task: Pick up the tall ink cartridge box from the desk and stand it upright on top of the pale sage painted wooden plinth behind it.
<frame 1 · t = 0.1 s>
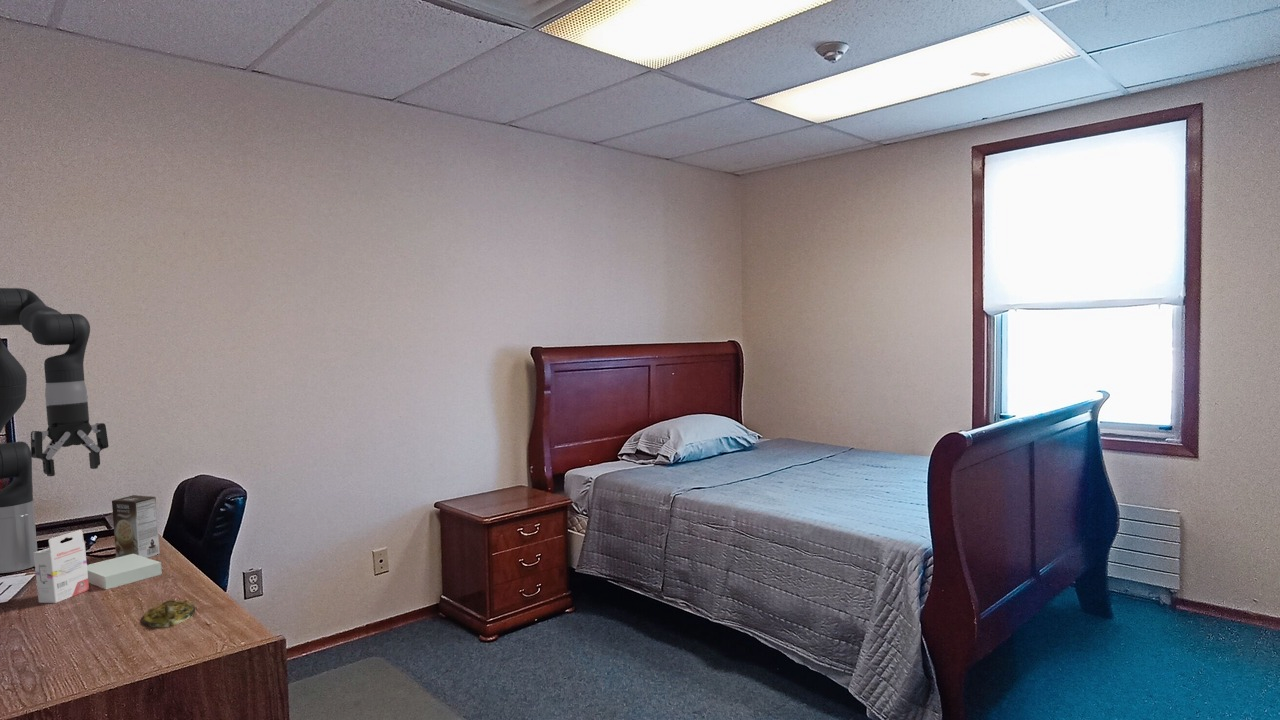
hand: (72, 472, 169), 29 cm above the table, fingers open, 8 cm apart
coffee box: (138, 557, 202), on the table
olive green oval lump: (170, 618, 156), on the table
ink cartridge box: (64, 597, 172), on the table
plinth: (120, 576, 184), on the table
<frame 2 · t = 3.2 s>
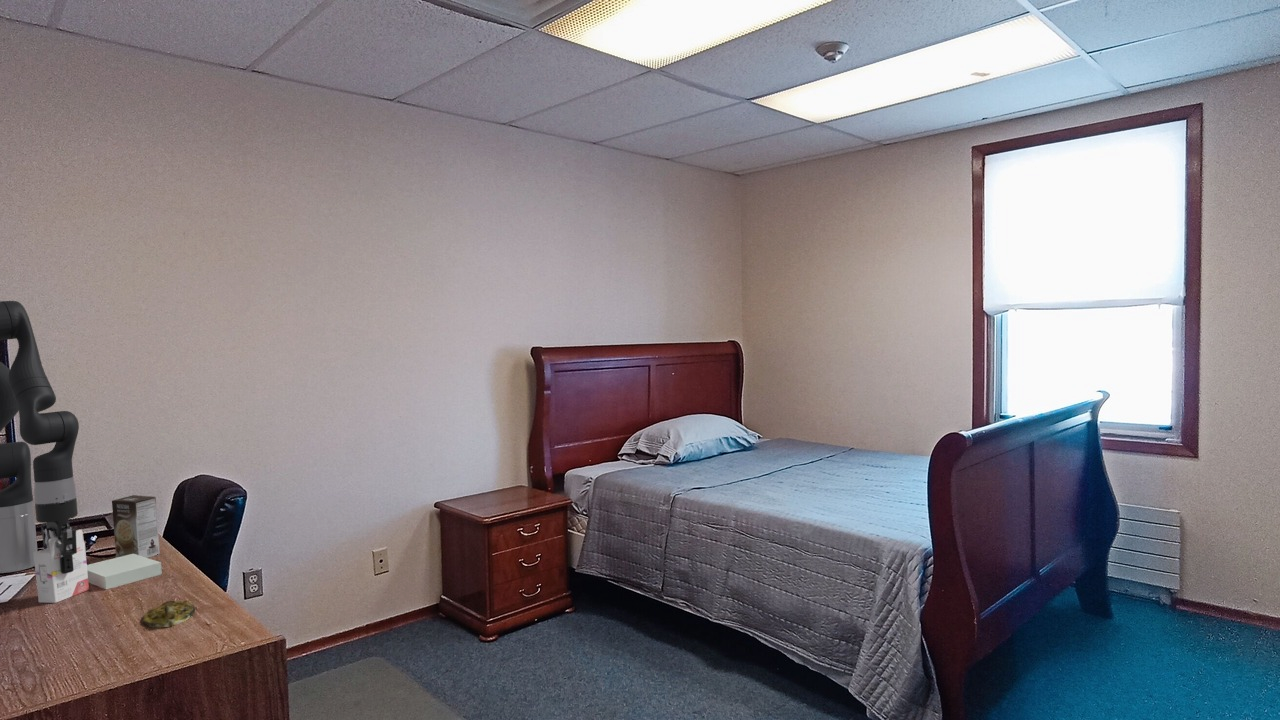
hand: (61, 570, 171), 6 cm above the table, fingers closed on ink cartridge box, 6 cm apart
ink cartridge box: (63, 597, 172), on the table, touching gripper
everything else where it was.
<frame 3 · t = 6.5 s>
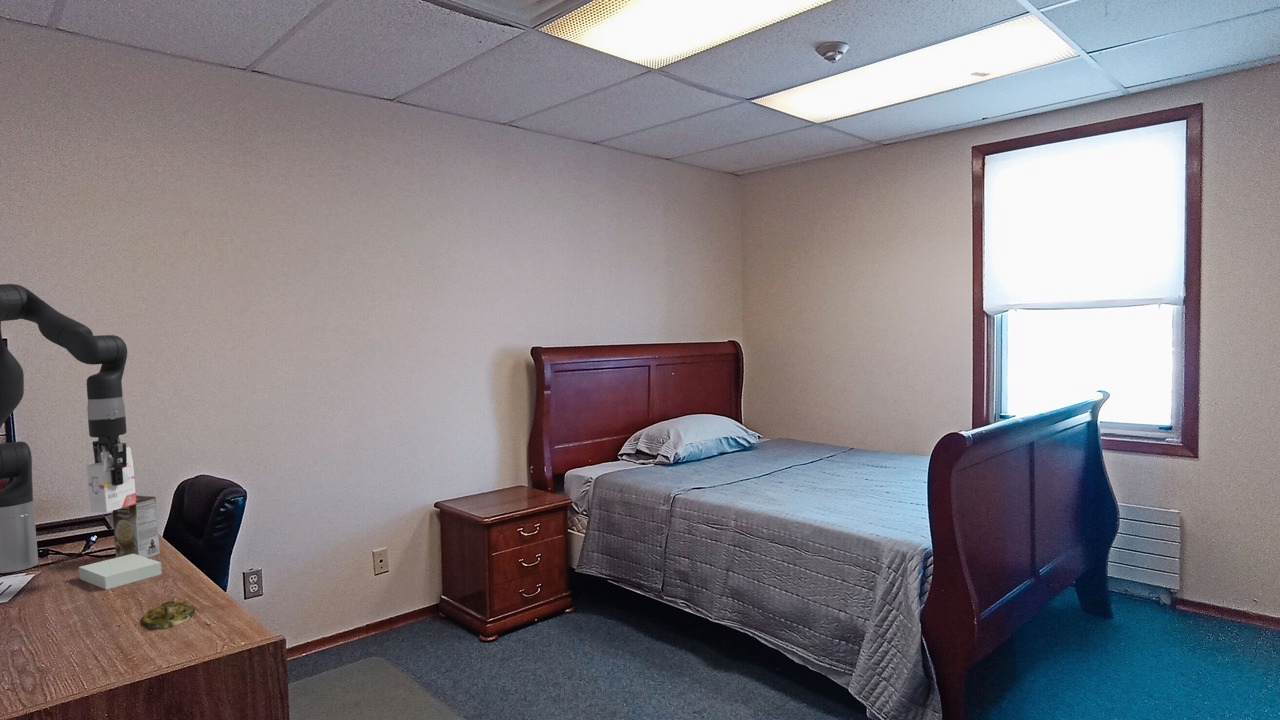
hand: (112, 483, 183), 23 cm above the table, fingers closed on ink cartridge box, 6 cm apart
ink cartridge box: (113, 509, 183), point 17 cm above the table, touching gripper
everything else where it was.
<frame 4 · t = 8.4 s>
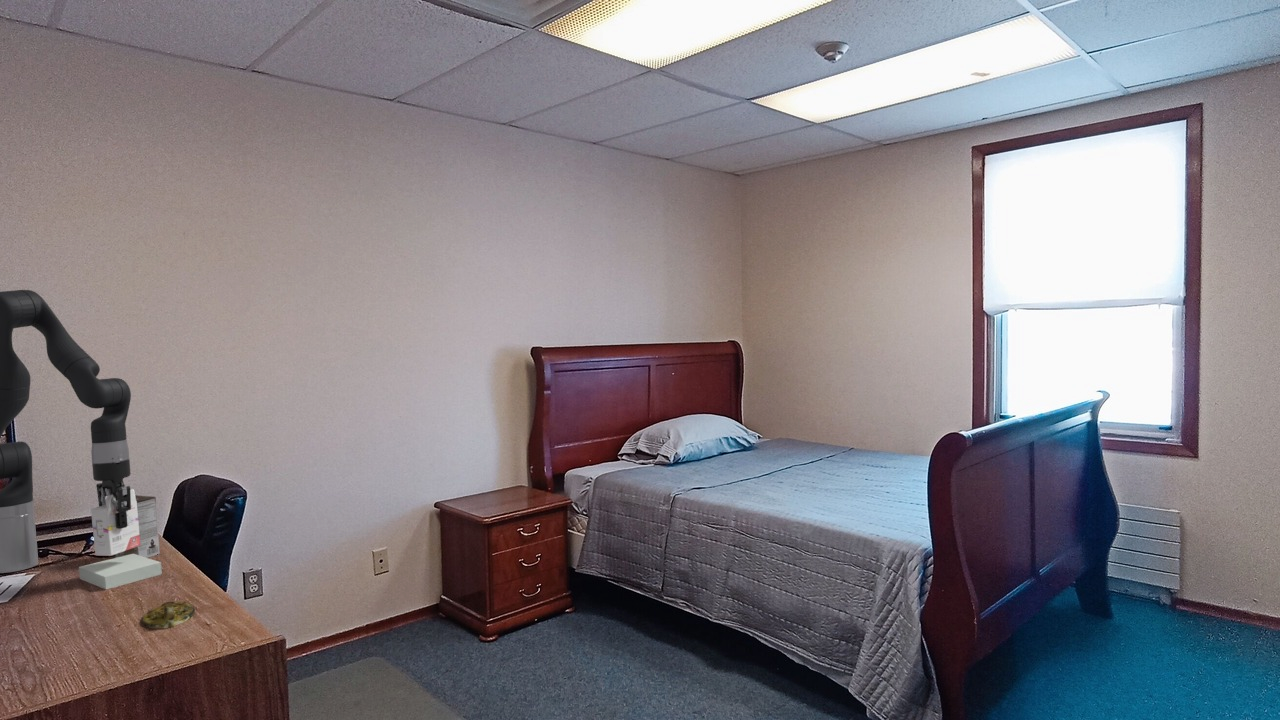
hand: (116, 526, 184), 13 cm above the table, fingers closed on ink cartridge box, 6 cm apart
ink cartridge box: (117, 551, 184), point 6 cm above the table, touching gripper
everything else where it was.
when the fingers open (11 cm above the table, at t = 9.9 s): ink cartridge box drops 1 cm, resting on plinth.
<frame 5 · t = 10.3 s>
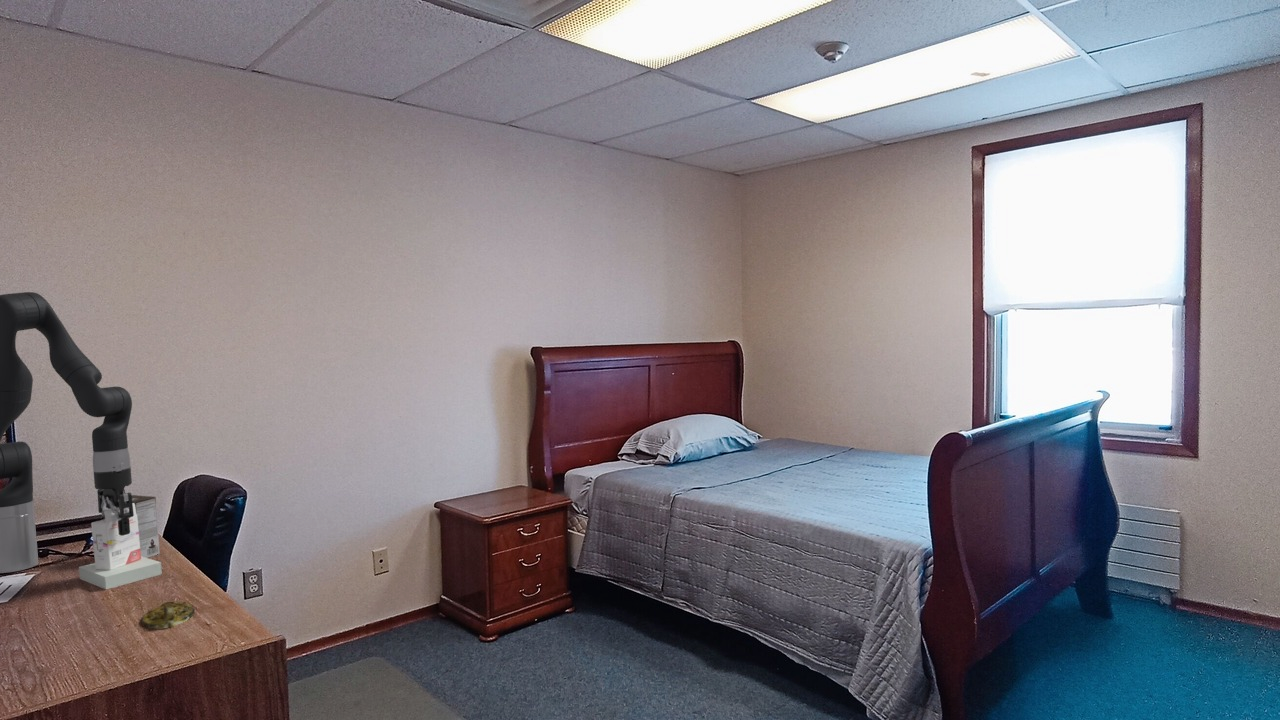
hand: (117, 532, 184), 11 cm above the table, fingers open, 8 cm apart
ink cartridge box: (118, 565, 184), point 3 cm above the table, touching plinth
everything else where it was.
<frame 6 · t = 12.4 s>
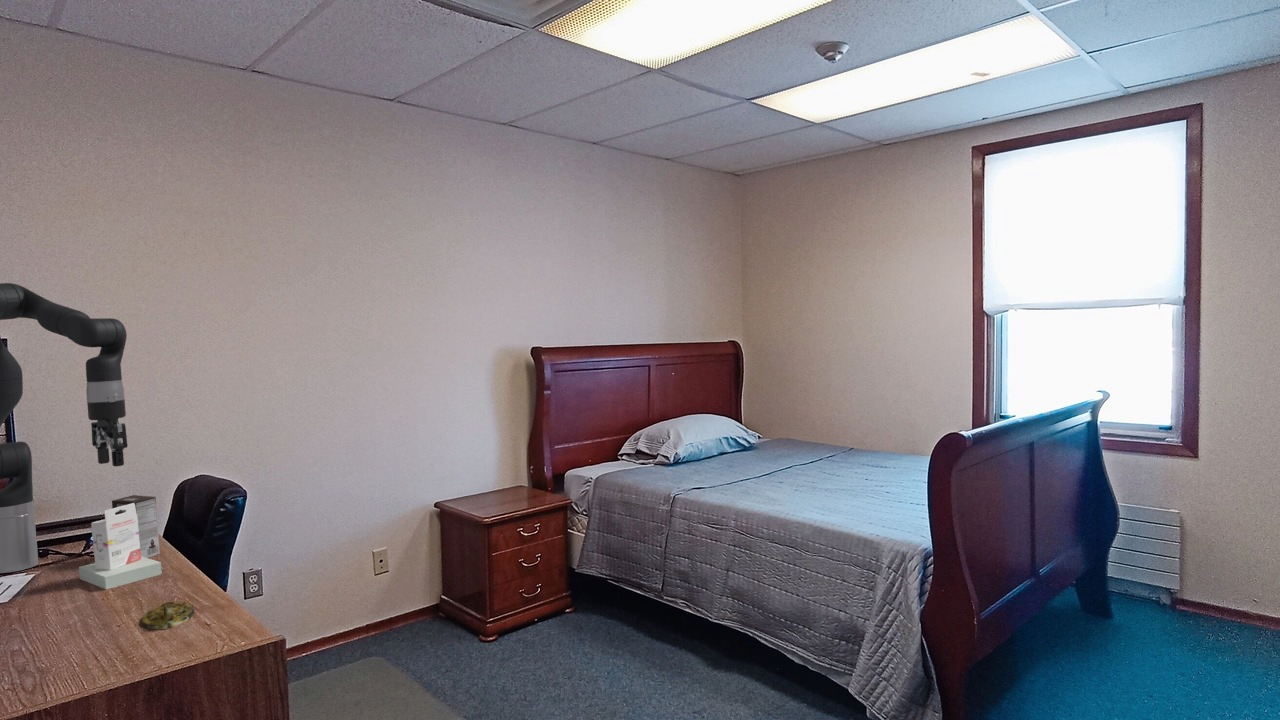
hand: (111, 464, 183), 28 cm above the table, fingers open, 8 cm apart
nothing on the table moved.
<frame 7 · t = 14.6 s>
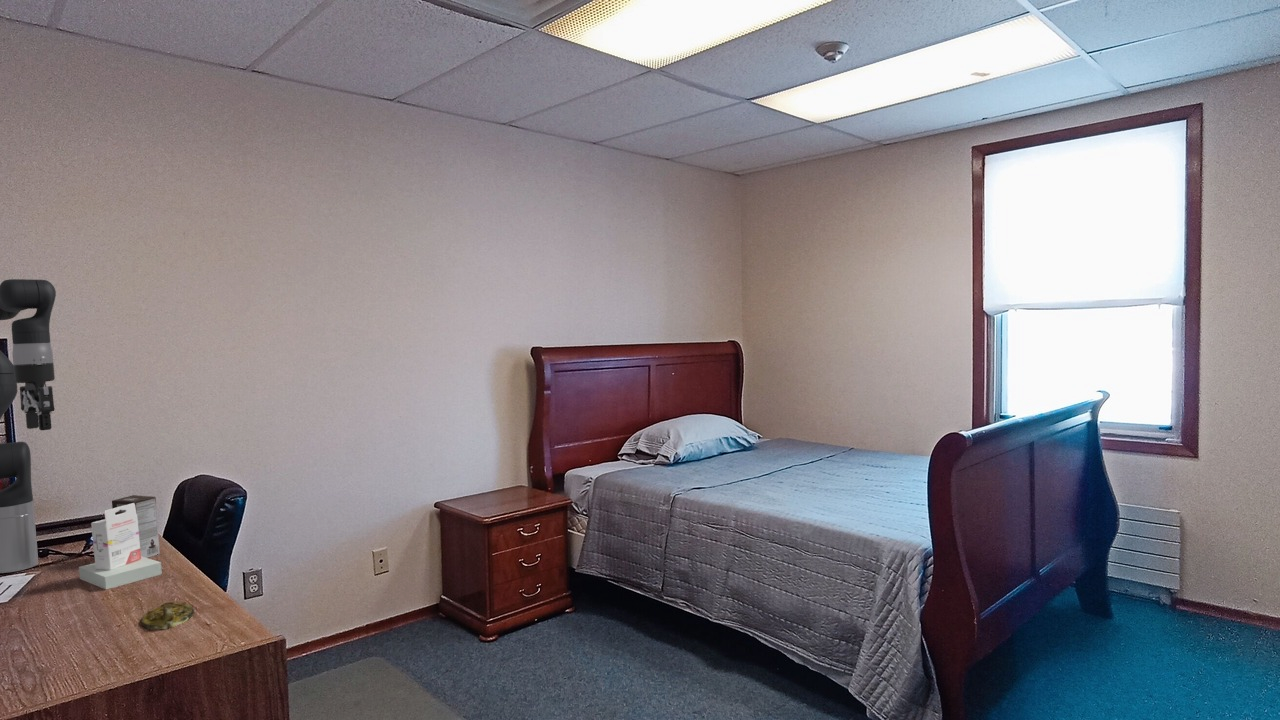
hand: (39, 429, 179), 38 cm above the table, fingers open, 8 cm apart
at the end: ink cartridge box inside the target area on the plinth (0.5 cm from its centre), point 2.8 cm above the plinth's base; ink cartridge box tilted 0°; the gripper is holding nothing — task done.
